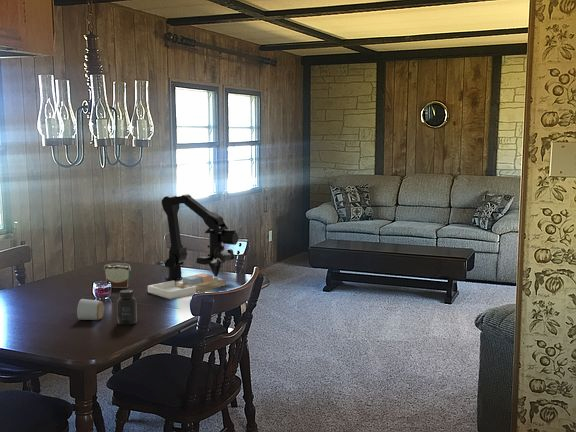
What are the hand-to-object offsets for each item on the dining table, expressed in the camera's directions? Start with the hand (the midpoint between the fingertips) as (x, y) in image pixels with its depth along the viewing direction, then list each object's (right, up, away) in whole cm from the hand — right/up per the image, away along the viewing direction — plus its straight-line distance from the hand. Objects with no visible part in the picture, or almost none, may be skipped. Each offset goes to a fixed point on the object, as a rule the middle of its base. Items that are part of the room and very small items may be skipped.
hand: (215, 276), depth 297 cm
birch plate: (-6, -4, -6) cm, 10 cm away
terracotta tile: (-5, -1, -5) cm, 8 cm away
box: (-17, -5, -18) cm, 25 cm away
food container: (-43, -4, -6) cm, 44 cm away
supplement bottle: (-26, -12, -61) cm, 67 cm away
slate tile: (-9, -2, -10) cm, 14 cm away
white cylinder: (-40, -11, -56) cm, 70 cm away
